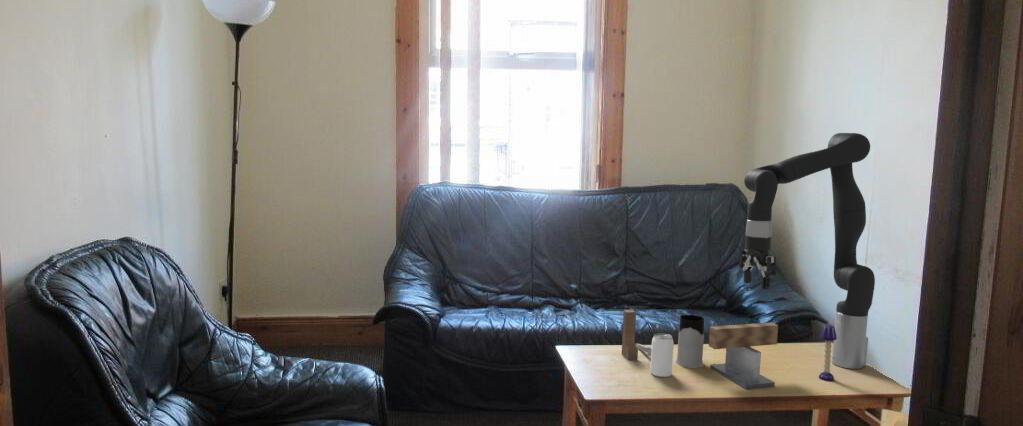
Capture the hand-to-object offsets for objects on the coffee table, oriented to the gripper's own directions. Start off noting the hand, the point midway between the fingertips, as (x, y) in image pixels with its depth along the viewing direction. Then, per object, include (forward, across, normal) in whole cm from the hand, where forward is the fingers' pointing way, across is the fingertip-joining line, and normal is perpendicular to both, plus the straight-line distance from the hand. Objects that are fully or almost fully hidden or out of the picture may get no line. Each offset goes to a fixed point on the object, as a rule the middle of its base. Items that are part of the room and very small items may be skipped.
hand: (756, 285), depth 211 cm
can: (+26, -3, -31) cm, 41 cm away
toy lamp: (+28, +13, +16) cm, 35 cm away
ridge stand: (+27, +5, -8) cm, 28 cm away
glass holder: (+27, -12, -15) cm, 33 cm away
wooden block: (+26, -20, -33) cm, 46 cm away
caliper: (+26, -20, -27) cm, 43 cm away
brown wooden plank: (+17, +5, -8) cm, 19 cm away
